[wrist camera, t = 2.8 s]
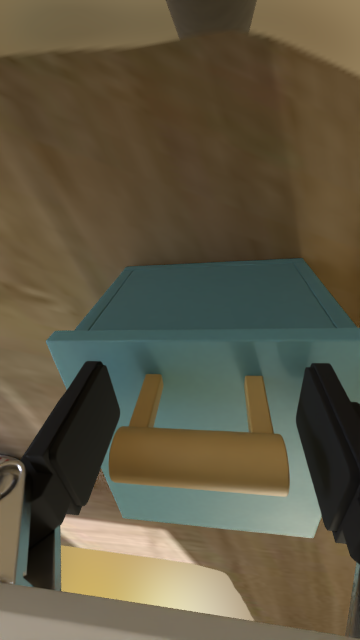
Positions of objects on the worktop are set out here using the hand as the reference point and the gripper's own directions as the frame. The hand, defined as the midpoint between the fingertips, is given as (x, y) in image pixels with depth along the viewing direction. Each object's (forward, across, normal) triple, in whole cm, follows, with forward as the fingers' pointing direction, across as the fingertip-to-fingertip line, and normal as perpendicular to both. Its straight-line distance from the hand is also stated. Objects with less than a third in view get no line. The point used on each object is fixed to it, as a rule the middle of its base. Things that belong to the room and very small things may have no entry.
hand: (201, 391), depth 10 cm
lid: (+1, 0, +6) cm, 6 cm away
